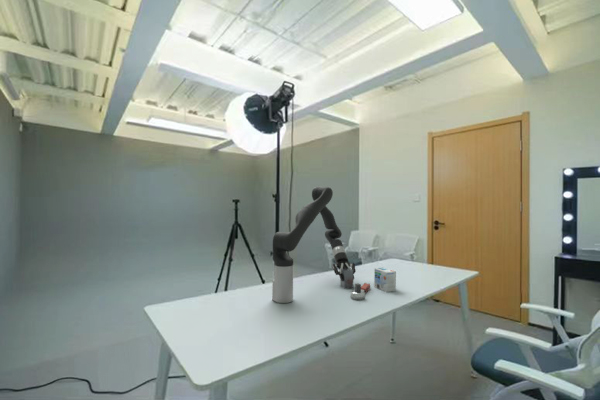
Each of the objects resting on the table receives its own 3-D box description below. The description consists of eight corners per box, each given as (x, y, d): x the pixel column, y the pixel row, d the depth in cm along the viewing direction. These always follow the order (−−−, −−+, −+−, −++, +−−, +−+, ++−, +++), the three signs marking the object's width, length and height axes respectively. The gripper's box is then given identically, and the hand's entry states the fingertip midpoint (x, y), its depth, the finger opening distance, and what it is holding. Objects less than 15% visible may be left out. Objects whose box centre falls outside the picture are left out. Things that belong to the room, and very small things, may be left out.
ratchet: (362, 301, 138) (362, 286, 138) (348, 298, 142) (349, 284, 142) (373, 288, 159) (373, 276, 159) (361, 287, 162) (361, 274, 162)
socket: (344, 288, 159) (344, 270, 159) (340, 285, 164) (340, 268, 164) (353, 287, 160) (353, 270, 161) (349, 285, 166) (349, 267, 166)
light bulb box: (373, 286, 163) (374, 268, 163) (383, 285, 166) (383, 267, 166) (386, 292, 153) (387, 272, 153) (396, 290, 156) (396, 271, 156)
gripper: (330, 252, 168) (338, 277, 156) (352, 251, 172) (361, 276, 160) (327, 259, 173) (334, 284, 161) (349, 258, 177) (357, 282, 165)
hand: (348, 280), depth 161 cm, fingers closed on socket, 5 cm apart
